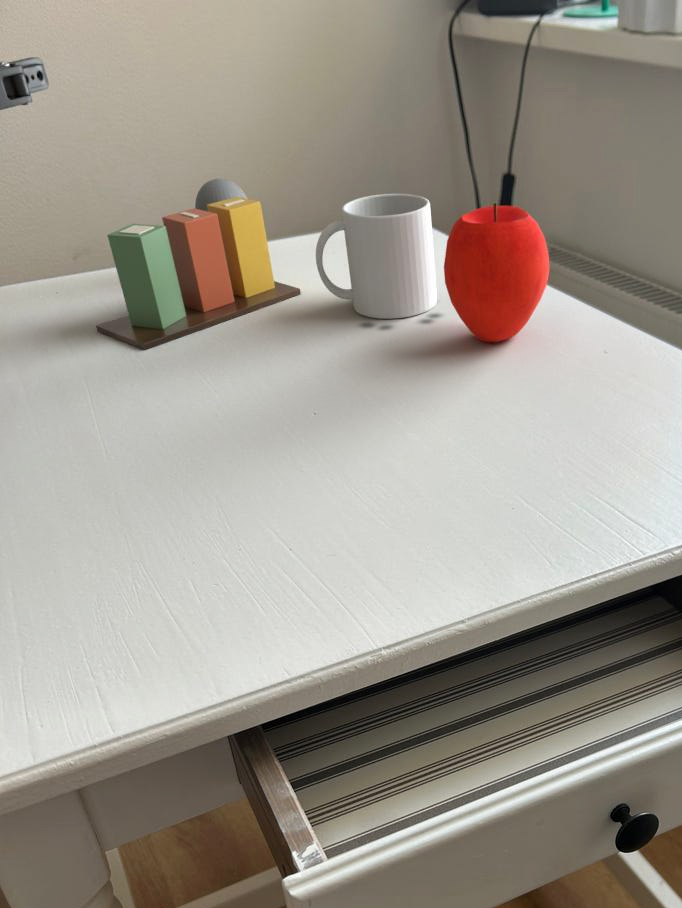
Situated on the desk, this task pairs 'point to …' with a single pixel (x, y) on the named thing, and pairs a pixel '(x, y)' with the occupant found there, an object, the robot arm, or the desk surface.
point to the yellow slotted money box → (244, 245)
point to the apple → (496, 270)
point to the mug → (386, 255)
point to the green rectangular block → (147, 275)
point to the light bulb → (217, 193)
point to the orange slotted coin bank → (199, 259)
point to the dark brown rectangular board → (193, 319)
